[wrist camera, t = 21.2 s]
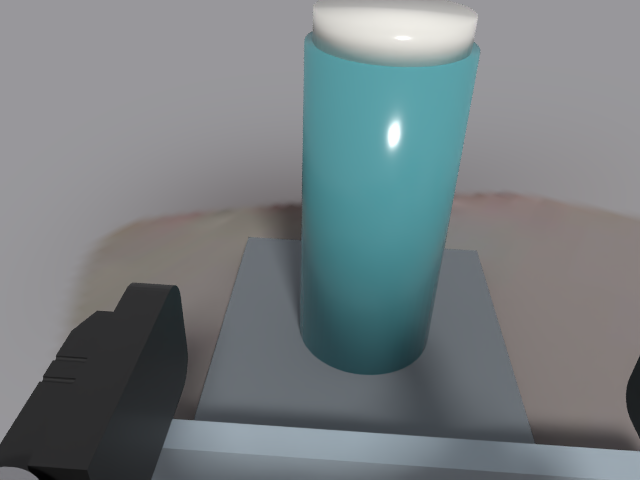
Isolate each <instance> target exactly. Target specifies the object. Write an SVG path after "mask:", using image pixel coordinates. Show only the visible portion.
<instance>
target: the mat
mask: <svg viewBox="0 0 640 480" xmlns="http://www.w3.org/2000/svg"><path fill="white" fill-rule="evenodd" d="M300 285H301V240H288V239H271V238H254V237H249V238H248V241H247V244H246V248H245V251H244V254H243V258H242V261H241V264H240V268H239V271H238V274H237V278H236V281H235V284H234V288H233V291H232V294H231V298H230V301H229V304H228V308H227V311H226V314H225V318H224V321H223V324H222V328H221V331H220V334H219V338H218V341H217V344H216V348H215V351H214V354H213V358H212V361H211V364H210V368H209V371H208V374H207V378H206V381H205V384H204V388H203V391H202V394H201V398H200V401H199V404H198V408H197V411H196V414H195V418H194V420H195V421H209V422H223V423H238V424H252V425H267V426H281V427H295V428H310V429H324V430H338V431H353V432H367V433H382V434H396V435H410V436H425V437H439V438H454V439H468V440H482V441H497V442H511V443H525V444H535V442H534V438H533V435H532V432H531V429H530V425H529V422H528V419H527V415H526V412H525V409H524V405H523V402H522V399H521V395H520V392H519V389H518V386H517V382H516V379H515V376H514V372H513V369H512V366H511V362H510V359H509V356H508V353H507V349H506V346H505V343H504V339H503V336H502V333H501V329H500V326H499V323H498V320H497V316H496V313H495V310H494V306H493V303H492V300H491V296H490V293H489V290H488V286H487V283H486V280H485V277H484V273H483V270H482V267H481V263H480V260H479V257H478V253H477V251H473V250H456V249H444V253H443V259H442V264H441V270H440V275H439V281H438V286H437V291H436V297H435V302H434V308H433V313H432V319H431V324H430V330H429V335H428V341H427V345H426V347H425V349H424V351H423V353H422V354H421V355H420V357H419V358H418V359H417V360H415V361H414V362H413V363H412V364H410V365H408V366H407V367H405V368H403V369H400V370H398V371H395V372H391V373H387V374H380V375H360V374H353V373H348V372H344V371H341V370H338V369H336V368H333V367H331V366H329V365H327V364H325V363H324V362H322V361H321V360H319V359H318V358H316V357H315V356H314V355H313V354H312V353H311V352H310V351H309V349H308V348H307V347H306V345H305V344H304V342H303V340H302V337H301V333H300Z"/></svg>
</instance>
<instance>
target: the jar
mask: <svg viewBox="0 0 640 480" xmlns="http://www.w3.org/2000/svg"><path fill="white" fill-rule="evenodd" d="M477 19H478V15H477V13H476V12H475V11H474V10H472V9H471V8H469V7H466V6H463V5H461V4H458V3H455V2H450V1H447V0H319V1H318V2H316V3H315V4H314V5H313V31H312V32H310V33H309V34H308V35H307V36H306V37H305V42H304V102H303V103H304V104H303V163H302V164H303V165H302V170H303V171H302V224H301V285H300V333H301V337H302V340H303V342H304V344H305V345H306V347H307V348H308V349H309V351H310V352H311V353H312V354H313V355H314V356H315V357H316V358H318V359H319V360H321V361H322V362H324V363H325V364H327V365H329V366H331V367H333V368H336V369H338V370H341V371H344V372H348V373H353V374H360V375H380V374H387V373H391V372H395V371H398V370H400V369H403V368H405V367H407V366H408V365H410V364H412V363H413V362H414V361H415V360H417V359H418V358H419V357H420V355H421V354H422V353H423V351H424V349H425V347H426V345H427V341H428V335H429V330H430V324H431V319H432V313H433V308H434V302H435V297H436V291H437V286H438V281H439V275H440V270H441V264H442V259H443V253H444V248H445V242H446V237H447V231H448V226H449V220H450V215H451V209H452V204H453V198H454V193H455V187H456V181H457V176H458V171H459V165H460V160H461V155H462V149H463V144H464V138H465V132H466V126H467V121H468V116H469V111H470V105H471V100H472V94H473V89H474V83H475V78H476V72H477V67H478V61H479V55H480V48H479V46H478V45H477V44H476V43H475V42H474V36H475V30H476V24H477Z"/></svg>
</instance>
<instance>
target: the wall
mask: <svg viewBox="0 0 640 480" xmlns="http://www.w3.org/2000/svg"><path fill="white" fill-rule="evenodd" d="M151 480H640V451H626V450H612V449H597V448H583V447H569V446H554V445H540V444H525V443H511V442H497V441H482V440H468V439H454V438H439V437H425V436H410V435H396V434H382V433H367V432H353V431H338V430H324V429H310V428H295V427H281V426H267V425H252V424H238V423H223V422H209V421H195V420H180V419H172V422H171V425H170V427H169V430H168V433H167V436H166V439H165V442H164V445H163V448H162V451H161V453H160V456H159V459H158V462H157V465H156V468H155V471H154V474H153V476H152V479H151Z"/></svg>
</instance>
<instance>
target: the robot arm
mask: <svg viewBox="0 0 640 480" xmlns="http://www.w3.org/2000/svg"><path fill="white" fill-rule="evenodd" d="M187 363H188V353H187V344H186V336H185V328H184V320H183V312H182V304H181V296H180V291H179V289H178V287H177V286H176V285H161V284H146V283H131V284H130V285H129V286H128V287H127V289H126V291H125V292H124V294H123V296H122V298H121V300H120V301H119V303H118V305H117V307H116V308H115V310H114V312H109V311H96V312H95V313H94V314H92V315H91V316H90V317H89V318H87V319H86V320H85V321H83V322H82V323H81V324H80V325H78V326H77V327H76V328H75V329H73V330H72V331H71V333H70V334H69V336H68V337H67V339H66V341H65V342H64V344H63V345H62V347H61V348H60V350H59V352H58V353H57V355H56V360H55V361H54V360H53V361H52V363H51V364H50V366H49V368H48V369H47V371H46V372H45V374H44V375H43V381H42V382H39V383H38V385H37V387H36V388H35V390H34V391H33V393H32V394H31V396H30V398H29V399H28V401H27V402H26V404H25V406H24V407H23V409H22V410H21V412H20V413H19V415H18V417H17V418H16V420H15V421H14V423H13V425H12V426H11V428H10V429H9V431H8V433H7V434H6V436H5V437H4V439H3V440H2V442H1V444H0V480H151V479H152V476H153V474H154V471H155V468H156V465H157V462H158V459H159V456H160V453H161V451H162V448H163V445H164V442H165V439H166V436H167V433H168V430H169V427H170V425H171V422H172V419H173V416H174V413H175V410H176V407H177V404H178V402H179V399H180V396H181V393H182V390H183V387H184V383H185V379H186V373H187ZM626 403H627V409H628V413H629V417H630V419H631V421H632V423H633V425H634V427H635V430H636V432H637V434H638V436H639V438H640V357H639V359H638V361H637V363H636V365H635V368H634V370H633V372H632V374H631V376H630V379H629V381H628V385H627V390H626Z"/></svg>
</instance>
